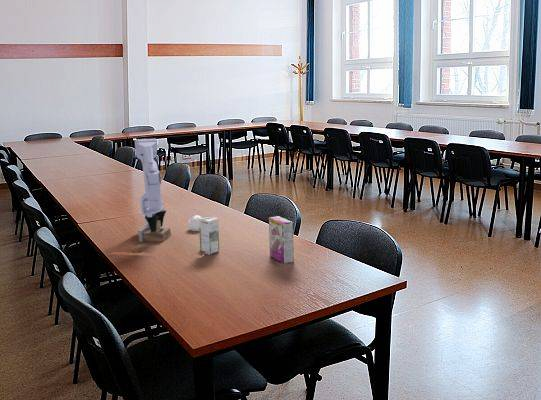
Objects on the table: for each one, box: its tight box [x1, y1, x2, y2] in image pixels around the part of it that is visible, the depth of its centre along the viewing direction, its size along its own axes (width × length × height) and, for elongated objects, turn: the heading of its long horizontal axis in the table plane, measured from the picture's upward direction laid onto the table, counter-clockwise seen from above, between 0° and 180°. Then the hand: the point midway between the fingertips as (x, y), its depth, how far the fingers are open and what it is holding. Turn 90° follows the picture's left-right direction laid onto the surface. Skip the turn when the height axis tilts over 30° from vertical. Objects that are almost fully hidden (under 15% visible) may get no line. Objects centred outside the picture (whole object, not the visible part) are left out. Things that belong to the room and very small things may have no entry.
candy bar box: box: [268, 215, 295, 265], centre depth 218 cm, size 11×5×16 cm, turn 30°
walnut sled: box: [143, 227, 172, 243], centre depth 249 cm, size 10×9×4 cm
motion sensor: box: [187, 214, 204, 232], centre depth 261 cm, size 8×8×8 cm
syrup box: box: [199, 216, 220, 256], centre depth 229 cm, size 6×6×14 cm
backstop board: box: [138, 224, 150, 243], centre depth 248 cm, size 11×20×6 cm, turn 80°
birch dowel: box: [153, 220, 161, 232], centre depth 248 cm, size 4×4×7 cm
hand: (156, 228), depth 248 cm, fingers open, 7 cm apart
